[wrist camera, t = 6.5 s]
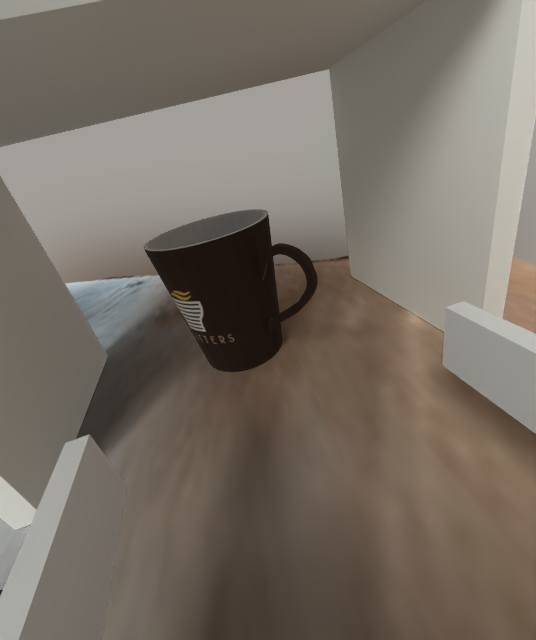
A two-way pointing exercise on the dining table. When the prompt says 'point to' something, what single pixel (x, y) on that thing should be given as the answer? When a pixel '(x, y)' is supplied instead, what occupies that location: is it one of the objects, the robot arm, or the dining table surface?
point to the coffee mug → (228, 285)
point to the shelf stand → (353, 151)
